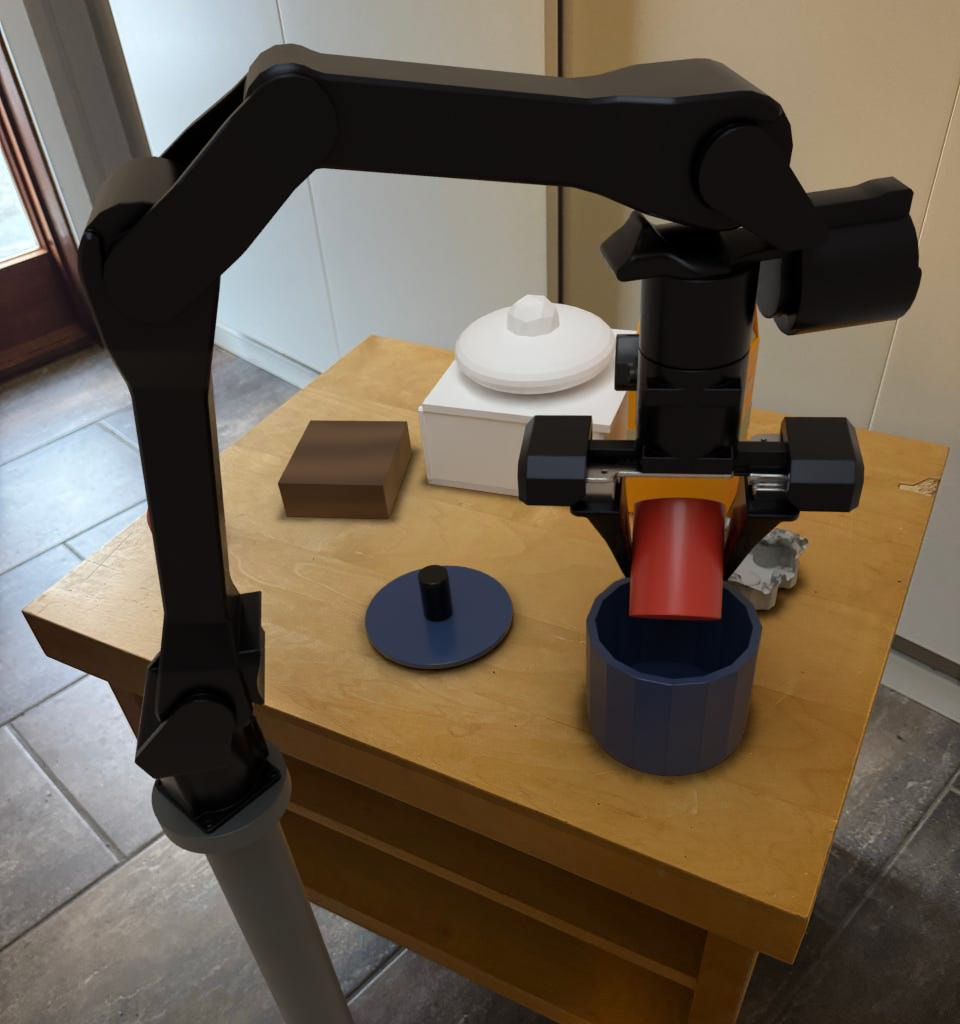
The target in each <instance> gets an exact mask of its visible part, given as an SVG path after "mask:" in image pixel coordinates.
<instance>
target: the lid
mask: <svg viewBox="0 0 960 1024" xmlns="http://www.w3.org/2000/svg"><path fill="white" fill-rule="evenodd" d="M513 611H514V609H513V603H512V599H511V596H510V594H509V592H508V591H507V589H506V587H504V586H503V585H502V583H500V581H498V580H497V579H495V578H494V577H493V576H491V575H489V574H488V573H486V572H483V571H481V570H479V569H475V568H472V567H467V566H459V565H439V564H429V565H426V566H423V568H418V569H415V570H412V571H409V572H407V573H404V574H402V575H400V576H398V577H396V578H394V579H392V580H390V581H389V582H388V583H386V584H385V585H383V587H381V588H380V589H379V590H378V591H377V592H376V593H375V595H374V596H373V597H372V599H371V600H370V602H369V604H368V606H367V609H366V612H365V616H364V627H365V631H366V636H367V638H368V640H369V642H370V643H371V645H372V646H373V648H374V649H375V650H376V651H377V652H378V653H379V654H381V655H382V656H383V657H385V658H386V659H388V660H390V661H391V662H394V663H395V664H398V665H402V666H405V667H409V668H415V669H421V670H422V669H423V670H424V669H425V670H437V669H438V670H439V669H440V670H441V669H447V668H448V669H449V668H453V667H457V666H461V665H464V664H467V663H471V662H472V661H475V660H476V659H479V658H481V657H483V656H484V655H486V654H488V653H489V652H491V651H492V650H494V649H495V648H496V647H497V646H498V645H499V644H500V643H501V642H502V641H503V639H504V638H505V637H506V635H507V634H508V632H509V630H510V627H511V626H512V622H513V613H514V612H513Z"/></svg>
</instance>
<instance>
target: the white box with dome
mask: <svg viewBox="0 0 960 1024" xmlns="http://www.w3.org/2000/svg"><path fill="white" fill-rule="evenodd" d="M636 333H637V330H630V329H618V328H612V327H610V326H609V325H608V324H607V323H606V322H605V321H604V319H602V318H601V317H600V316H598V315H596V314H594V313H593V312H590V311H588V310H585V309H583V308H580V307H578V306H573V305H569V304H565V303H564V304H563V303H556V302H552V301H550V300H549V299H548V297H546V296H545V295H539V294H528V293H527V294H526V295H525V296H523V297H521V298H520V299H518V300H517V301H515V302H514V303H513V304H512V305H510V306H506V307H503V308H499V309H497V310H493V311H491V312H489V313H487V314H486V315H485V314H484V315H483V316H481V317H479V318H478V319H476V320H474V321H472V322H471V323H470V324H469V325H468V326H467V327H466V328H465V329H464V330H463V331H462V332H461V333H460V335H459V336H458V338H457V340H456V342H455V347H454V354H453V355H454V360H453V361H452V362H451V364H450V366H449V367H448V368H446V370H445V372H444V374H443V375H442V376H441V378H440V379H439V380H438V382H437V383H436V384H435V386H434V387H433V388H432V390H431V391H430V392H429V394H428V395H427V396H426V397H425V399H424V400H423V401H422V403H421V405H419V406H418V408H417V414H418V422H419V429H420V430H419V431H420V435H421V436H420V437H421V445H422V451H423V458H424V465H425V473H426V480H427V484H428V485H435V486H436V485H437V486H442V487H443V486H444V487H450V488H458V489H463V490H464V489H465V490H471V491H478V492H485V493H492V494H498V495H499V494H500V495H507V496H513V497H519V494H518V478H517V474H518V460H519V455H520V450H521V446H522V441H523V436H524V431H525V427H526V425H527V424H528V422H529V421H530V420H531V419H532V418H533V417H534V416H535V415H586V416H592V420H593V437H592V440H627V428H628V400H629V391H616V390H615V389H614V376H615V350H616V335H617V334H636Z"/></svg>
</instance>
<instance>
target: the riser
mask: <svg viewBox="0 0 960 1024" xmlns="http://www.w3.org/2000/svg"><path fill="white" fill-rule="evenodd" d="M408 424H409V423H408V421H407V420H321V419H320V420H314V419H311V420H309V422H308V424H307V426H306V427H305V429H304V431H303V434H302V435H301V437H300V439H299V440H298V443H297V445H296V446H295V448H294V451H293V453H292V455H291V456H290V458H289V461H288V462H287V464H286V466H285V468H284V470H283V472H282V474H281V476H280V478H279V479H278V481H277V486H278V489H279V494H280V497H281V501H282V504H283V508H284V512H285V515H286V517H300V518H305V517H306V518H337V519H339V518H341V519H373V520H374V519H379V520H389V519H390V516H391V513H392V511H393V507H394V505H395V502H396V500H397V497H398V494H399V491H400V488H401V486H402V483H403V480H404V477H405V475H406V472H407V469H408V466H409V464H410V461H411V459H412V456H413V452H412V444H411V437H410V431H409V425H408Z"/></svg>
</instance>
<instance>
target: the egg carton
mask: <svg viewBox="0 0 960 1024" xmlns="http://www.w3.org/2000/svg"><path fill="white" fill-rule="evenodd" d="M729 521H730V517H727V516H726V517H725V537H726V533H727V529H728V525H729ZM808 547H809V540H808V538H807V537H805V536H801V535H800V534H799V533H797V532H795V531H794V532H791V531H790V530H788V529H784V528H778V527H775V528H774V529H773V530H772V531H771V532H770V533H769V534H768V535H766V536H765V537H764V538H763V539H762V540H761V541H760V542H759V543H758V544H757V545H756V546H755V547H754V548H753V549H752V550H751V552H750V553H749V554H748V555H747V556H746V558H745V559H744V560H743V562H742V563H741V564H740V565H739V567H738V568H737V569H736V570H735V572H734V573H733V574H732V575H731V577H730V578H729V579H728V580H727V581H724V582H726V583H728V584H730V585H733V586H734V587H735V588H736V589H737V590H738V591H740V592H741V593H742V594H743V595H744V596H745V597H746V598H747V599H748V600H749V601H750V602H751V603H752V604H753V605H754V607H755V609H756V611H757V610H765V611H769V610H770V609H772V608H773V607H775V606H776V601H777V596H778V590H779V589H780V588H784V589H788V590H790V589H792V588H793V587H794V586H795V585H796V584H797V579H798V573H799V570H800V569H799V567H800V560H799V556H801V555H802V553H803V554H804V552H805V550H806V549H807V548H808Z"/></svg>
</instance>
